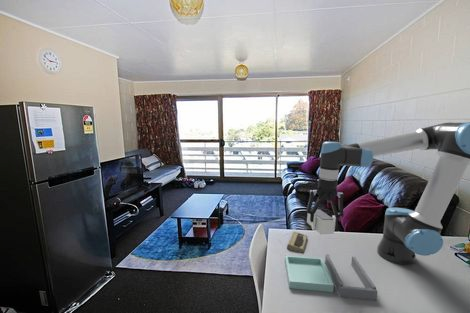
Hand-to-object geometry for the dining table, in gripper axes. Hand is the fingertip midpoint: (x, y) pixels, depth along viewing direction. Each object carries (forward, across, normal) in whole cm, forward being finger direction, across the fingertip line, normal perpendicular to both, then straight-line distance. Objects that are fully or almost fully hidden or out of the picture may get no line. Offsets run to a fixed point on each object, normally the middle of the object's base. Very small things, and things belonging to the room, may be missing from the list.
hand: (322, 229), depth 104 cm
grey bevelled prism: (0, +1, -2) cm, 3 cm away
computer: (+17, +8, -18) cm, 26 cm away
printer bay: (+16, -9, +8) cm, 20 cm away
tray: (+16, +7, +9) cm, 20 cm away
